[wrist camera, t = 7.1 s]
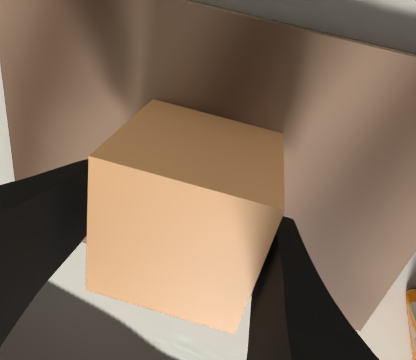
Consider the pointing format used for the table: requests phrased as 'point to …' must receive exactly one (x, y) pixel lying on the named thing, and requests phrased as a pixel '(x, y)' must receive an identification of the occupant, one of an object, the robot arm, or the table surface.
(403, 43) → the table surface
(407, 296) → the supplement box
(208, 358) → the table surface
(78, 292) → the table surface
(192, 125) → the orange cube
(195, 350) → the table surface
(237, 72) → the walnut board
